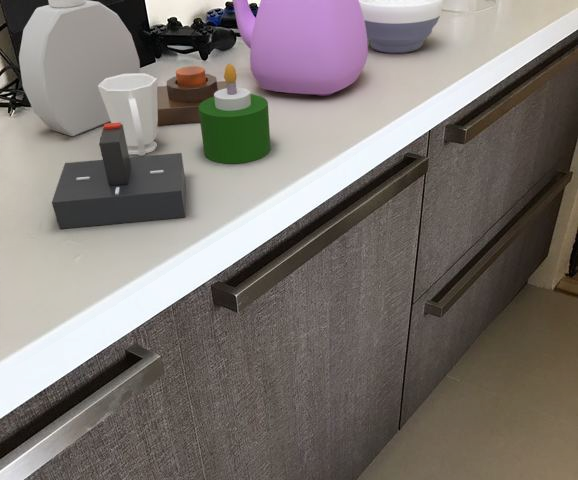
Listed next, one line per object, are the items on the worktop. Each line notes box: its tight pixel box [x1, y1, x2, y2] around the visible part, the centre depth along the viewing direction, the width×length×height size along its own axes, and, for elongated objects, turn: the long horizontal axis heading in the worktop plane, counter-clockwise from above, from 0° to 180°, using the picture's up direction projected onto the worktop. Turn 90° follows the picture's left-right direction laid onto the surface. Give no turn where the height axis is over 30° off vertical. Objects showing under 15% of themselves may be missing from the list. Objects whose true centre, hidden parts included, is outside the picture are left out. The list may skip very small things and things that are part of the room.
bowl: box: [359, 0, 444, 54], centre depth 112 cm, size 14×14×8 cm
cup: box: [98, 72, 158, 157], centre depth 81 cm, size 7×10×8 cm
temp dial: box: [98, 122, 131, 186], centre depth 69 cm, size 5×2×5 cm, turn 7°
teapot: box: [231, 0, 369, 97], centre depth 99 cm, size 23×21×15 cm
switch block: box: [157, 73, 227, 127], centre depth 93 cm, size 12×10×4 cm
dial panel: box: [51, 152, 186, 230], centre depth 72 cm, size 13×10×3 cm
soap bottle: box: [18, 0, 141, 137], centre depth 86 cm, size 16×5×20 cm, turn 142°
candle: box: [199, 63, 271, 164], centre depth 79 cm, size 8×8×10 cm
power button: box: [175, 65, 206, 86], centre depth 91 cm, size 4×4×2 cm
